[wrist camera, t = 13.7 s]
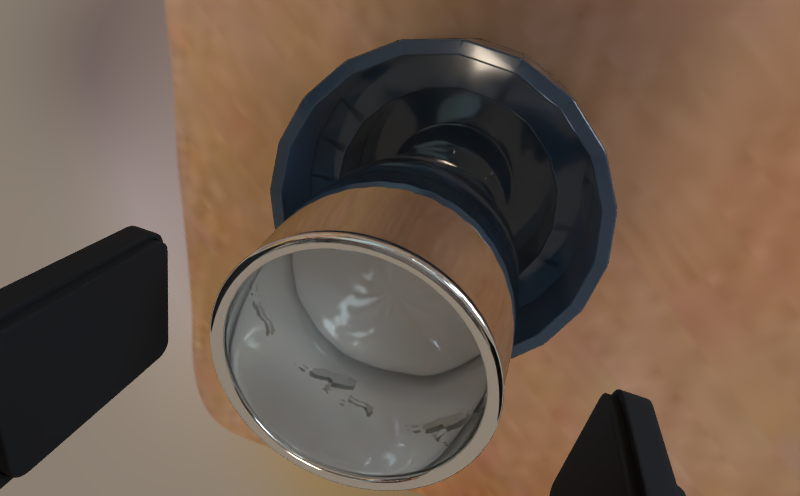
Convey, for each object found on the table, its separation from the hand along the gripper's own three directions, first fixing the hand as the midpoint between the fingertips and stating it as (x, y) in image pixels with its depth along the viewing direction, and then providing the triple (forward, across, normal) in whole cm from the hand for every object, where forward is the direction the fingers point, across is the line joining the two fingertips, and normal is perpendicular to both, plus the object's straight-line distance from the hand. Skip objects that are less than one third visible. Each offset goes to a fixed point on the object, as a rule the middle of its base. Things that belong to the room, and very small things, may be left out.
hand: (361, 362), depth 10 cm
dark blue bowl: (+16, 0, +1) cm, 16 cm away
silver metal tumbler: (+15, 0, +1) cm, 15 cm away
